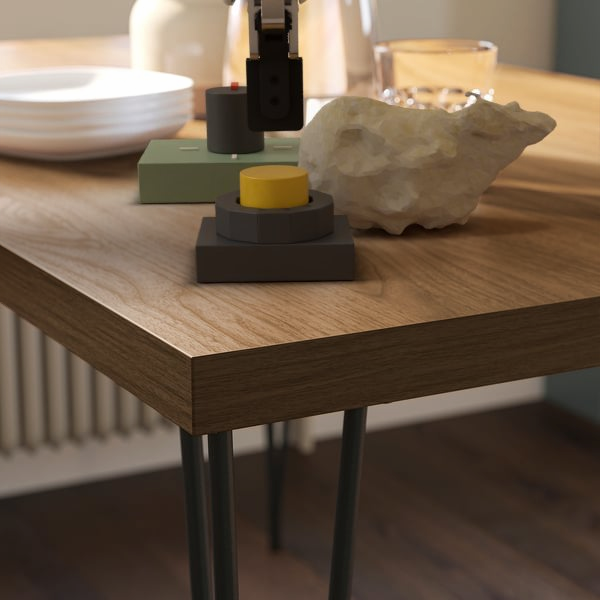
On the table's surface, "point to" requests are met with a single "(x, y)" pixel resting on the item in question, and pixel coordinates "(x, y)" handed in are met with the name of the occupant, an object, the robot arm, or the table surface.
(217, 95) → the dial
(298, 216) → the button housing
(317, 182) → the cream lumpy rock
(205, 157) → the dial panel
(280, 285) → the table surface
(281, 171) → the trigger button
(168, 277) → the table surface
